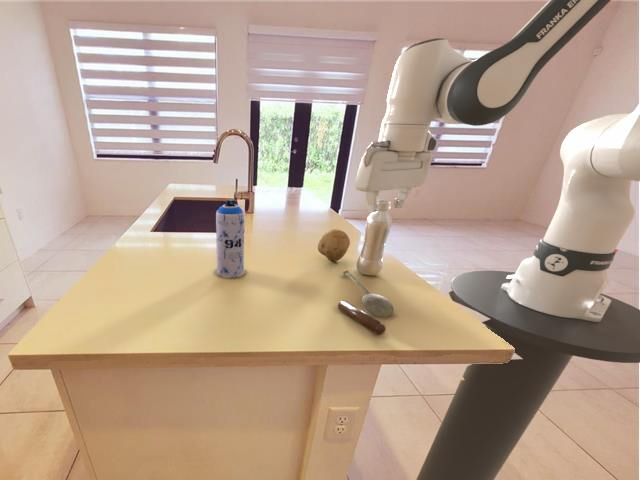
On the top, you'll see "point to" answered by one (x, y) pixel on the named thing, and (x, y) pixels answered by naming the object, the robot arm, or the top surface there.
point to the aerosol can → (230, 240)
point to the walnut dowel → (362, 317)
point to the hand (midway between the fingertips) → (384, 209)
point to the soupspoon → (374, 301)
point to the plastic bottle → (375, 239)
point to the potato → (334, 244)
